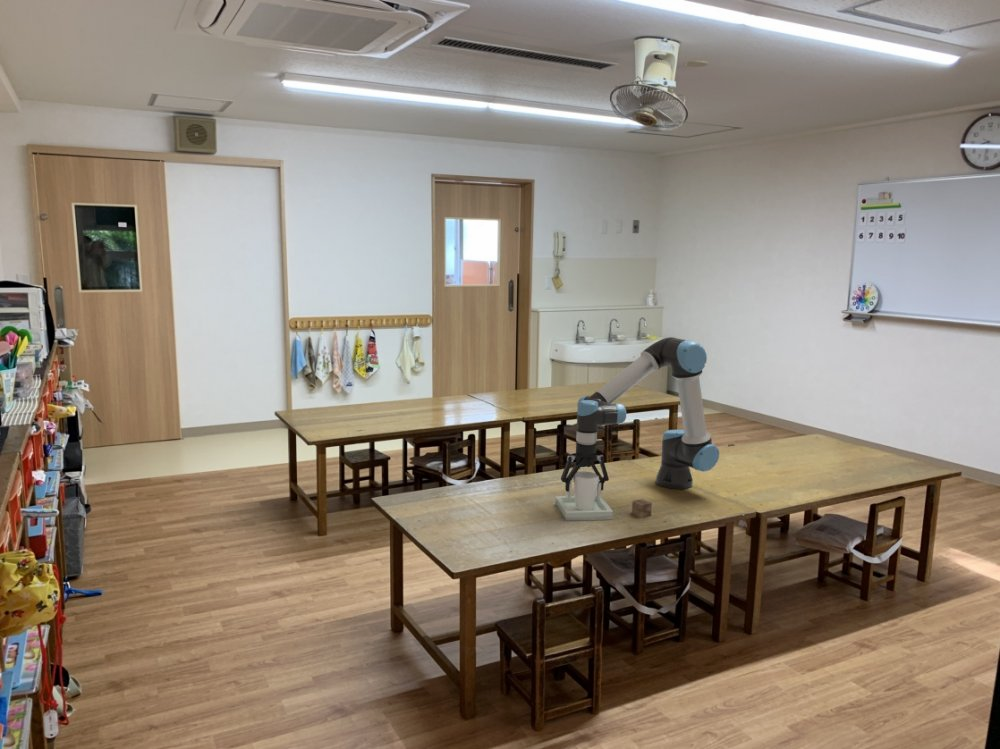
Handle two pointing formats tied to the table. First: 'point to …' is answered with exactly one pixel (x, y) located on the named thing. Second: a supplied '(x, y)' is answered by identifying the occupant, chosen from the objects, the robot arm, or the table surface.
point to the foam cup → (585, 489)
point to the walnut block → (641, 508)
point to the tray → (572, 514)
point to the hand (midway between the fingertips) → (583, 499)
